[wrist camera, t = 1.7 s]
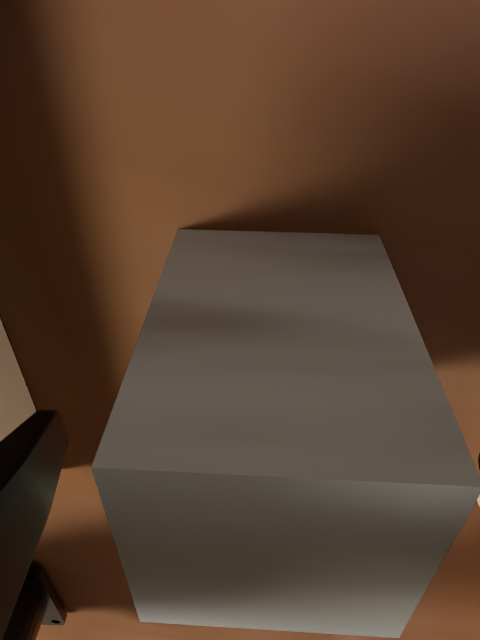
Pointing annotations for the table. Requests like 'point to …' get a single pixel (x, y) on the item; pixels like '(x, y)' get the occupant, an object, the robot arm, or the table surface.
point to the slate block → (282, 441)
